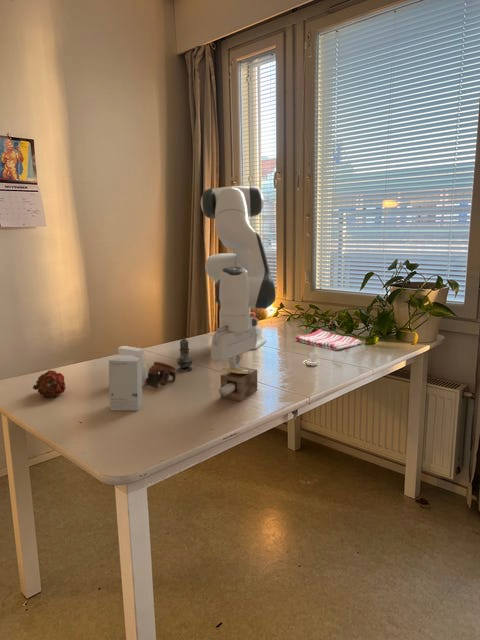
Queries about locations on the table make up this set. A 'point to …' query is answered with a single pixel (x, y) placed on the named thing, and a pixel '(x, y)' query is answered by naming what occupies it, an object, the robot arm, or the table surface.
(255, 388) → the hitch block
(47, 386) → the dragon fruit
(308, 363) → the teacup and saucer
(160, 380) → the brown grey sculpted ring
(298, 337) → the dish towel
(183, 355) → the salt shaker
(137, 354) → the base with upright slab
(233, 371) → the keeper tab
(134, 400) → the skincare box
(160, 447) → the table surface
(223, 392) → the pin
